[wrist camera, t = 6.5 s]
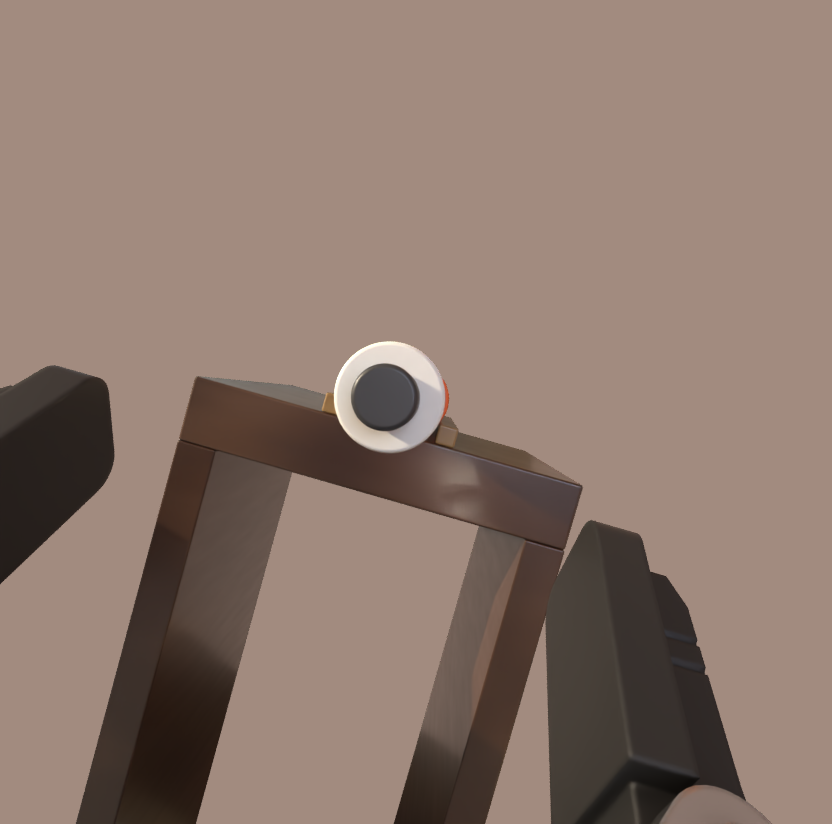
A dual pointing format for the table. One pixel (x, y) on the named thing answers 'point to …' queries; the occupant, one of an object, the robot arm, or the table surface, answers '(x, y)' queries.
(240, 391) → the stand
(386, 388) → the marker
